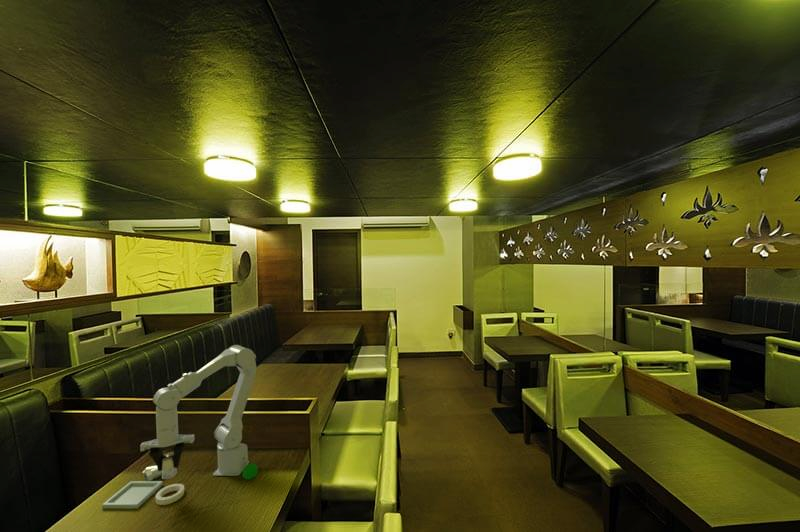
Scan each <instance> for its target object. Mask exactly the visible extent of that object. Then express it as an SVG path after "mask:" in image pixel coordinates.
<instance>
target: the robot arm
mask: <svg viewBox="0 0 800 532" xmlns="http://www.w3.org/2000/svg"><path fill="white" fill-rule="evenodd" d="M256 358H257V356H256V354H255V353H254V351H253V350H252V349H250V348H247V347H244V346H242V345H240V344H234V345H231V346H230V347H229V348H226V349H224V350H223V351H222V352H221V353H220V354H219V355H218V356H216V357H215V358H214V359H211V361H209V362H208V363H207V364H205V365H204V366H203V367H201V368H200V369H198V370H197V371H195V372H194V371H193V372H192V371H189V372H188V373H187V372H185V373H182V376H181V377H180V378H178V379H177V380H176V381H174V382H172V383H168V384H167V387H162V388H160V389H158V390H157V391H156V392H155V394H154V395H153V398H152V402H153V403H154V405H156V406H155V425H156V439H151V440H147V441H144V442H143V441H142V443H141V444H140V446H139V448H140V449H139V450H140V451H139V452H145V451H146V450H150V451H149V453H148V454H149V455H148V456H149V457H150V458H151V459H152V460H153V462H154V463H155V465H157V468H158V471H161V470H162V467H161V457H162V455H164V453H163V452H164V448H166V447H170V446H174V447H173V449H172V452H174V456H175V468H177V469H178V468H179V466H180V465H181V464H180V462H181V458H182V454H183V451H184V448H185V446H186V444H188V443H189V444H193V443H194V441H195V434H179V423H178V422H179V421H178V419H179V417H178V405H179V403H180V400H182V399H183V398H185V397H186V396H187V395H189V394H190V393H191V392H193V391H194V390H196V389H197V388H199V387H200V386H201V384H202V381H203V380H205V379H206V378H208V377H209V376H211V375H212V374H215V373H216V372H217V371H219V370H221V369H222V368H224V367H236V369H238V371H239V376H238V379H237V382H236V385H235V387H234V390H233V394H232V396H231V399H230V403H229V406H228V409H227V412H226V415H225V416H224V417H223V418H221V420H220V423H219V425H218V426H217V427H216V429H215V430H214V432H213V433H214V438H215V439H216V441H217V445H216V447H217V449H216V450H217V469H216V470H215V471H214V472H213V474H212V476H213V477H217V476H219V477H221V476H223V477H224V476H226V477H227V476H228V477H229V476H231V477H232V476H236V477H237V476H240V475H241V474H242V471H243V469H244V467H245V466H247V465H248V464H249V463H250V461H249V455H248V454H249V451H248V450H249V449H248V448H249V447H248V445H247V444H246V443H241V442H242V440H243V433H242V431H243V428H244V425H243V420H242V418H243V415H244V412H245V408H246V405H247V402H248V400H249V396H250V393H251V389H252V386H253V383H254V380H255V377H256V374H257V368H258V367H257V363H256Z"/></svg>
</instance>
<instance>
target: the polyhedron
mask: <svg viewBox="0 0 800 532" xmlns="http://www.w3.org/2000/svg"><path fill="white" fill-rule="evenodd" d="M258 472H259V468H258V465H257V464H255V463H252V462H251V463H250V462H249V463H248V465H247V466H245V467H244V469H243V471H242V472H241V474H242V478H244V479H245V480H253V479H254V478H255V477H256V476H257V475H258Z"/></svg>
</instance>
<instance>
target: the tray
mask: <svg viewBox="0 0 800 532" xmlns="http://www.w3.org/2000/svg"><path fill="white" fill-rule="evenodd" d="M163 483H164V482H163V481H162V480H152V481H145V480H144V481H143V480H140V481H139V480H134V481H133V480H131V481H129V482H128V483H126V485H124V486H123V487H122V488H121V489H119V490H118V491H117V492H115V493H114V494H113V495H112V496H111V497H109V498H108V499H107V500H105V502H103V503H102V504H101V509H102V510H138V509H139V508H140V507H142V505H143V504H145V502H147V500H148V499H150V498H151V497H152V496H153V495H154V494H156V492H158V491H159V490H160V489H161V487H163V486H164V484H163Z"/></svg>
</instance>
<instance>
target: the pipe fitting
mask: <svg viewBox="0 0 800 532" xmlns="http://www.w3.org/2000/svg"><path fill="white" fill-rule="evenodd" d="M141 474H142V475H143V480H144V481H154V480H156V479H157V478H160V477H162V470H161V471H158V468H157V465H156V464H155V465H149V466H146V468H145V469H144V470H143V471H142V472H141Z"/></svg>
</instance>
